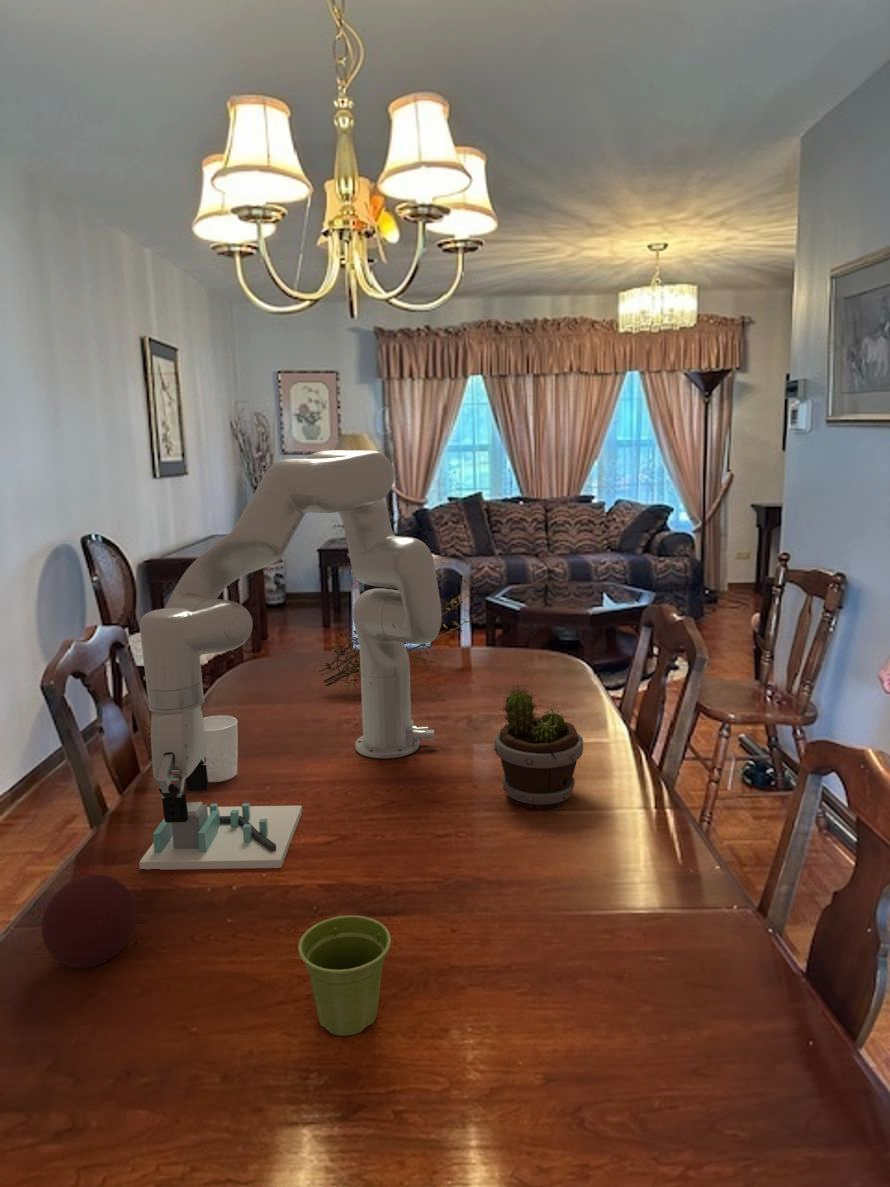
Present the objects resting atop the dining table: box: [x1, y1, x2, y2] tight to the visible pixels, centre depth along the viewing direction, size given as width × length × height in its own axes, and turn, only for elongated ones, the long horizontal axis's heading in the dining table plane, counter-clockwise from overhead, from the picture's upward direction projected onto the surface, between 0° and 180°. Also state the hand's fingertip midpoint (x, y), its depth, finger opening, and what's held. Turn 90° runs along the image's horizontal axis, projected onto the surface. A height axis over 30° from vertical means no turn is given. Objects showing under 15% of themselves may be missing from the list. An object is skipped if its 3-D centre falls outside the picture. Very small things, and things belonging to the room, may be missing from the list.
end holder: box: [152, 814, 218, 853], centre depth 116 cm, size 8×6×3 cm
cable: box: [220, 816, 276, 852], centre depth 119 cm, size 16×6×1 cm, turn 63°
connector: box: [172, 801, 208, 849], centre depth 116 cm, size 4×4×6 cm
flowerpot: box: [493, 681, 584, 810], centre depth 131 cm, size 14×15×20 cm
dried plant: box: [318, 578, 477, 696], centre depth 188 cm, size 30×31×45 cm
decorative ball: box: [41, 874, 137, 969], centre depth 91 cm, size 10×10×10 cm
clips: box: [209, 802, 268, 842], centre depth 120 cm, size 10×8×2 cm
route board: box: [138, 805, 303, 871], centre depth 120 cm, size 20×17×1 cm
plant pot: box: [297, 915, 392, 1037], centre depth 82 cm, size 9×9×9 cm
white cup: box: [203, 714, 239, 783], centre depth 142 cm, size 8×8×10 cm
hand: (187, 805), depth 116 cm, fingers open, 9 cm apart
